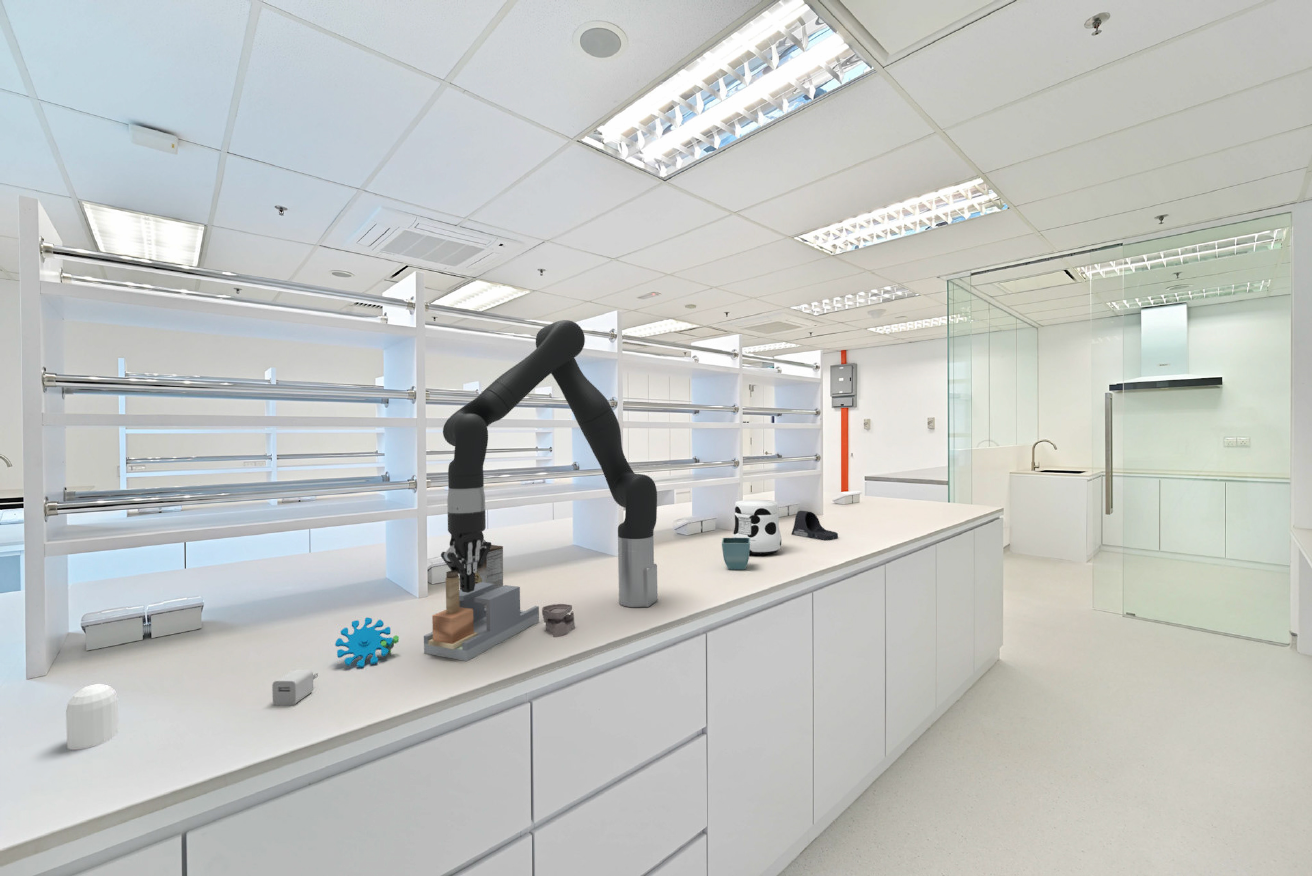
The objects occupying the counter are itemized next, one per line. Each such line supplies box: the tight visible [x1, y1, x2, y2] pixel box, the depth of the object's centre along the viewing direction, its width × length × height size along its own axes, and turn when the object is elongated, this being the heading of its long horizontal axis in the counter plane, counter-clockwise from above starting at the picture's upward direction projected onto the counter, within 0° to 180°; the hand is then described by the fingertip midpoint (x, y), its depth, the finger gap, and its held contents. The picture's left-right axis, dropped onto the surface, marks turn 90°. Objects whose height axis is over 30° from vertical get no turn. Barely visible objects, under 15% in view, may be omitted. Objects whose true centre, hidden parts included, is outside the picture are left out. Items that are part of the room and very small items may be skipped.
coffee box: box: [459, 544, 504, 608], centre depth 139 cm, size 9×6×16 cm
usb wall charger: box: [271, 669, 319, 706], centre depth 95 cm, size 4×7×4 cm, turn 178°
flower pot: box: [721, 537, 750, 571], centre depth 177 cm, size 9×9×9 cm
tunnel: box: [423, 582, 540, 662], centre depth 121 cm, size 11×24×10 cm, turn 157°
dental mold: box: [541, 603, 576, 638], centre depth 124 cm, size 8×7×5 cm
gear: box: [334, 617, 400, 668], centre depth 110 cm, size 11×6×10 cm
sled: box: [428, 570, 478, 649], centre depth 112 cm, size 6×7×14 cm
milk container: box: [732, 499, 782, 555], centre depth 199 cm, size 17×17×18 cm
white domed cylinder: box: [65, 683, 120, 751], centre depth 82 cm, size 5×5×8 cm
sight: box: [790, 510, 839, 542], centre depth 227 cm, size 9×18×10 cm, turn 36°
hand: (468, 591), depth 116 cm, fingers closed
